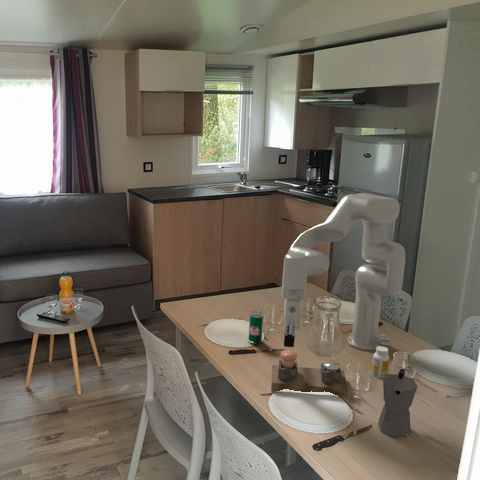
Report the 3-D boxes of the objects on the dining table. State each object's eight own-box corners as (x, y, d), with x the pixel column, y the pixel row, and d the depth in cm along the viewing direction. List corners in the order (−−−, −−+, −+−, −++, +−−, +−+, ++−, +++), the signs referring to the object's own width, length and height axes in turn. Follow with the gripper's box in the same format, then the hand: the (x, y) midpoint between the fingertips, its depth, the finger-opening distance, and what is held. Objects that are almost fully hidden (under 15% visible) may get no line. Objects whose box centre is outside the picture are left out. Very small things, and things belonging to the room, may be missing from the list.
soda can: (246, 343, 204) (248, 314, 201) (251, 338, 208) (252, 309, 205) (259, 345, 202) (261, 316, 199) (263, 340, 207) (265, 311, 204)
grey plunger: (337, 374, 177) (338, 361, 176) (339, 382, 172) (340, 368, 171) (321, 373, 177) (323, 359, 176) (322, 380, 172) (324, 367, 171)
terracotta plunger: (295, 363, 177) (296, 350, 176) (296, 371, 172) (297, 358, 171) (280, 362, 178) (281, 349, 177) (280, 370, 173) (280, 356, 172)
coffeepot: (408, 446, 147) (417, 387, 142) (373, 437, 150) (381, 379, 145) (413, 416, 161) (420, 362, 156) (381, 409, 164) (387, 355, 159)
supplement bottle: (387, 372, 187) (390, 346, 184) (387, 379, 182) (390, 353, 179) (371, 369, 188) (374, 344, 186) (370, 376, 183) (374, 350, 181)
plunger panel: (342, 378, 181) (344, 361, 179) (347, 397, 170) (348, 378, 168) (272, 372, 183) (273, 355, 181) (271, 391, 171) (272, 372, 169)
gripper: (306, 301, 161) (301, 357, 165) (304, 285, 175) (299, 337, 180) (281, 299, 161) (276, 355, 166) (281, 283, 176) (277, 335, 180)
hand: (288, 345), depth 173 cm, fingers closed
